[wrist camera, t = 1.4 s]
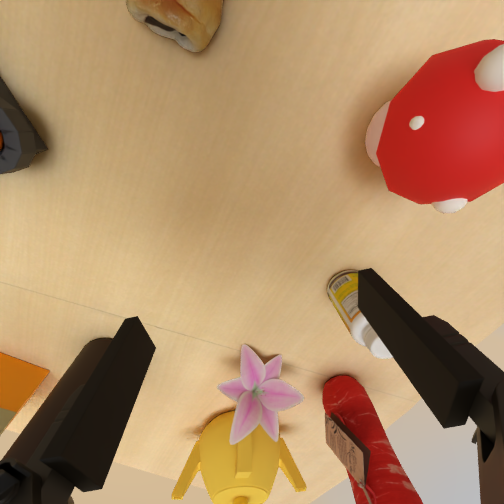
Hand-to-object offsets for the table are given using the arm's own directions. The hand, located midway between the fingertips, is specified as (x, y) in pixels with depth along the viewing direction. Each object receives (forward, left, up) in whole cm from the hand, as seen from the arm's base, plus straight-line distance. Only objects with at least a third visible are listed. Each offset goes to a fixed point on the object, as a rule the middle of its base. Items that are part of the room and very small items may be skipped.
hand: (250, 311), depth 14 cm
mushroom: (-18, -4, -15) cm, 23 cm away
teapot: (+14, +41, -15) cm, 45 cm away
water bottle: (-6, +33, -15) cm, 37 cm away
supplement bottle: (-11, +13, -15) cm, 22 cm away
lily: (+5, +24, -15) cm, 28 cm away
